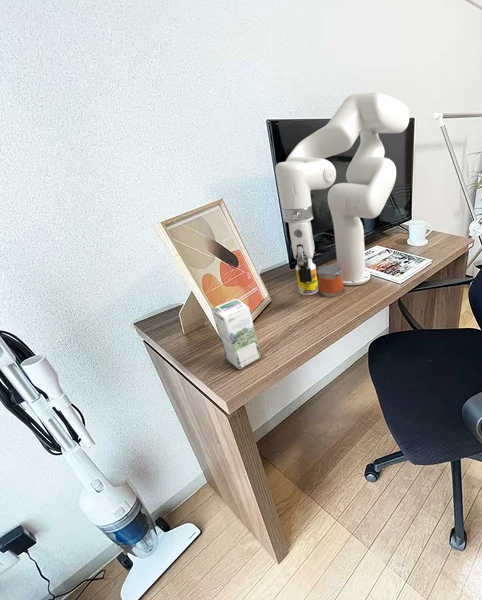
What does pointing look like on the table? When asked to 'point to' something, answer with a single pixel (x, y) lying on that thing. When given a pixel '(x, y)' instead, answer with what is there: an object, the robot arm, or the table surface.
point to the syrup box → (236, 333)
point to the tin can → (330, 280)
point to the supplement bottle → (308, 287)
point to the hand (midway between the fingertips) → (306, 276)
